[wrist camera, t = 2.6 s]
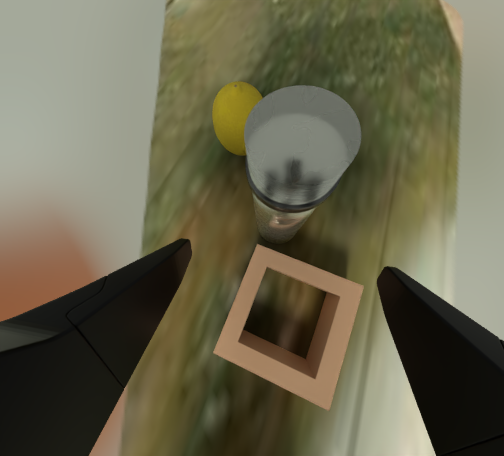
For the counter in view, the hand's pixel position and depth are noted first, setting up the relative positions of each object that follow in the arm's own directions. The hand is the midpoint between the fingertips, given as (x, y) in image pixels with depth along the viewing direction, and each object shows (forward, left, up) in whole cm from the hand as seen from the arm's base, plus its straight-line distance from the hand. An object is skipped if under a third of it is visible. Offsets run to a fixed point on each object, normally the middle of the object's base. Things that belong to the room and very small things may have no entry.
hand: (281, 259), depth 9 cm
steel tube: (+5, +1, -11) cm, 12 cm away
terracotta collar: (-3, -3, -11) cm, 12 cm away
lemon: (+12, +8, -11) cm, 18 cm away
